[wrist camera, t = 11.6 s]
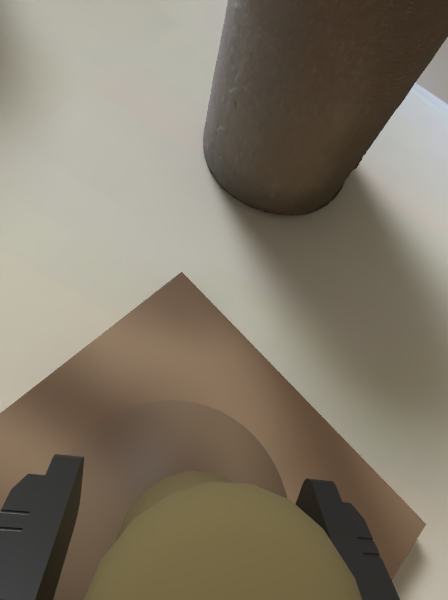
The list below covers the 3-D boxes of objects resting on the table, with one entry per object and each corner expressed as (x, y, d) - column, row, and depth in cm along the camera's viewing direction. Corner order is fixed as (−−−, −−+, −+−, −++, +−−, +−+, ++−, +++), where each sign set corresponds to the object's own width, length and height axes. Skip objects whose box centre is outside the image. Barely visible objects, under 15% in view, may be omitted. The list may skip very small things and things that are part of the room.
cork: (301, 560, 16) (518, 685, 6) (182, 701, 14) (222, 1240, 4) (201, 438, 18) (247, 380, 8) (78, 551, 15) (-83, 678, 5)
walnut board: (147, 918, 13) (148, 977, 12) (-132, 530, 16) (-162, 537, 14) (406, 520, 20) (428, 524, 18) (179, 283, 22) (182, 270, 20)
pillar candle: (373, 179, 27) (601, -109, 14) (261, 243, 24) (423, -61, 10) (283, 80, 30) (407, -255, 16) (168, 125, 26) (201, -257, 12)
